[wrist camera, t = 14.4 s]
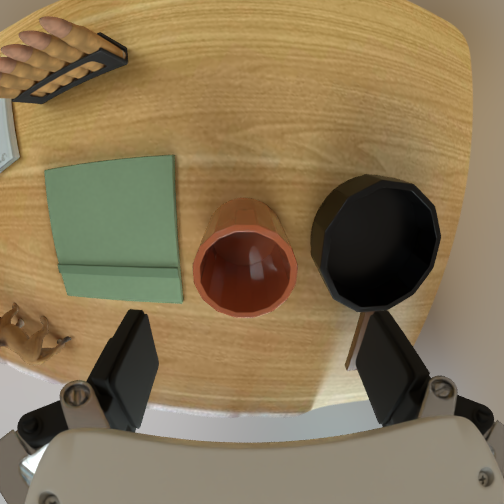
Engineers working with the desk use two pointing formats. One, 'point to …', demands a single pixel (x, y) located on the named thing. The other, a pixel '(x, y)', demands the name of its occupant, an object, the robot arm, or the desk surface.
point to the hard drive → (7, 135)
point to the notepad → (117, 229)
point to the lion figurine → (27, 339)
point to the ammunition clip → (56, 60)
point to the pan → (374, 245)
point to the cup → (244, 260)
